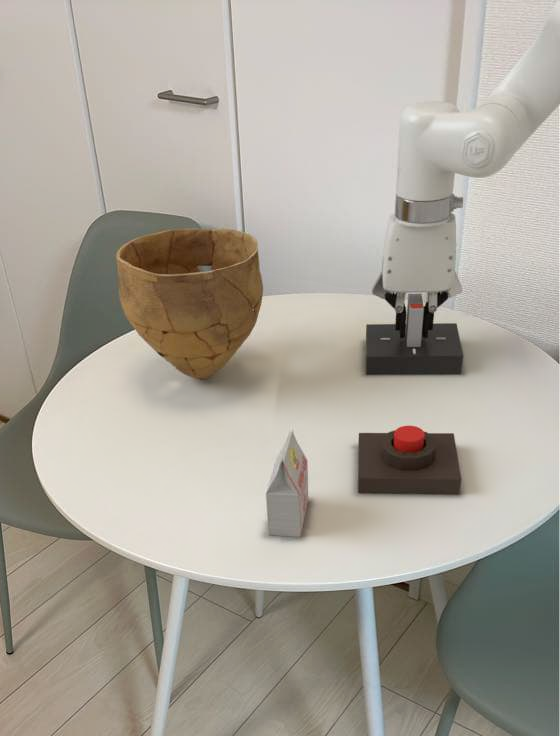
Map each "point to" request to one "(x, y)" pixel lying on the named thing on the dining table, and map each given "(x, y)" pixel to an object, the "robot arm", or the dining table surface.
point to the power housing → (408, 465)
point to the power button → (409, 439)
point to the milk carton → (288, 490)
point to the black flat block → (413, 351)
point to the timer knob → (414, 320)
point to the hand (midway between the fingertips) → (413, 333)
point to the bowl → (192, 294)
